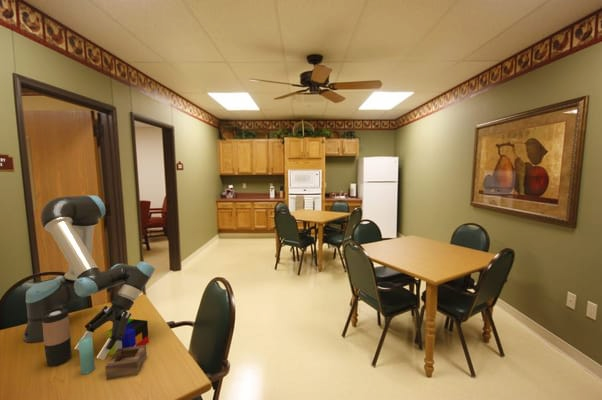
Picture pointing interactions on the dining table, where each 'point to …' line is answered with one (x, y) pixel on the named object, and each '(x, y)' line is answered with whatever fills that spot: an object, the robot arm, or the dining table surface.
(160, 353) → the dining table surface
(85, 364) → the teal dowel
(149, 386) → the dining table surface
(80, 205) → the robot arm
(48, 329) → the travel mug
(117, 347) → the puzzle toy
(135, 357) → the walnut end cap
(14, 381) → the dining table surface
